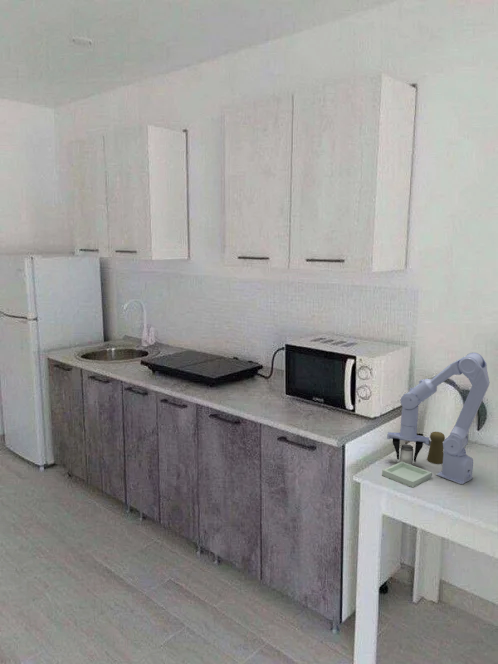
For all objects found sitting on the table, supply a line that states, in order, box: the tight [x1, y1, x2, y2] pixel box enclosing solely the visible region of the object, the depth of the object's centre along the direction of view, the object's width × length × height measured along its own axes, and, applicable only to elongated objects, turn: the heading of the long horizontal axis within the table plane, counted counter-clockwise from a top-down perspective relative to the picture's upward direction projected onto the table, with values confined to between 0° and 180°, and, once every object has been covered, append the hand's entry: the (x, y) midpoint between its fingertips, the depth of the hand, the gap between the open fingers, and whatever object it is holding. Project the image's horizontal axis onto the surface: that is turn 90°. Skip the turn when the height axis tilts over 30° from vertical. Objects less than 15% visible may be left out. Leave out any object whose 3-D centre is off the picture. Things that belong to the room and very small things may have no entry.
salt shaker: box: [399, 443, 414, 465], centre depth 191 cm, size 4×4×7 cm
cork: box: [426, 431, 446, 465], centre depth 195 cm, size 6×6×11 cm
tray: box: [381, 461, 433, 488], centre depth 181 cm, size 12×12×2 cm
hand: (406, 459), depth 191 cm, fingers open, 5 cm apart
